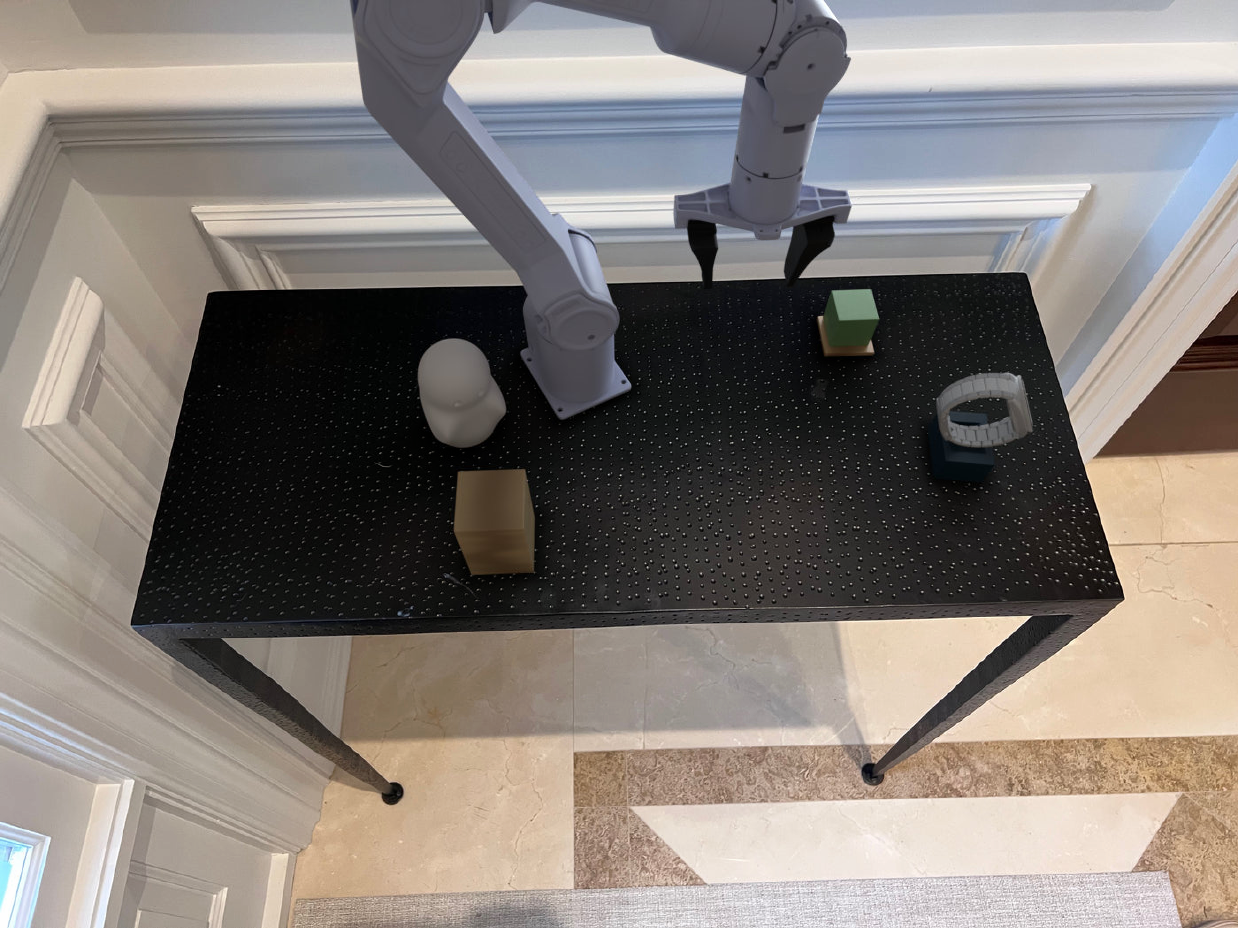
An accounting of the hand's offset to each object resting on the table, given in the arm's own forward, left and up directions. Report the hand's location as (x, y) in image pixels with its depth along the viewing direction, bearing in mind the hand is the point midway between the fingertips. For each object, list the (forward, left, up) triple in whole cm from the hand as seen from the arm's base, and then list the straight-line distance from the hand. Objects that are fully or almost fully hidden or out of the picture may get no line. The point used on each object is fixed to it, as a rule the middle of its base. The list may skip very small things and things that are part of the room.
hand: (747, 280), depth 73 cm
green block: (+4, +11, -9) cm, 15 cm away
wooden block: (+9, -30, -9) cm, 33 cm away
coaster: (+4, +11, -9) cm, 15 cm away
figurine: (-4, -28, -10) cm, 30 cm away
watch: (+21, +11, -10) cm, 26 cm away
